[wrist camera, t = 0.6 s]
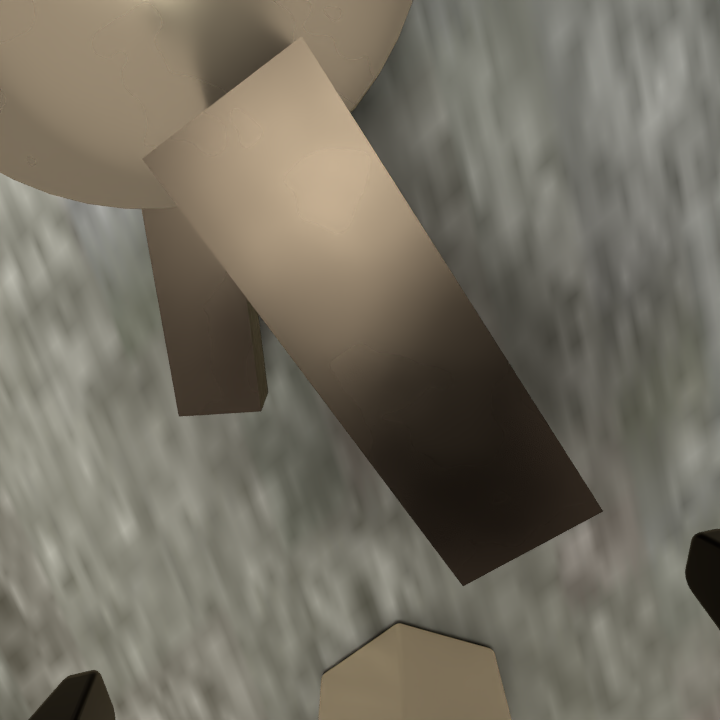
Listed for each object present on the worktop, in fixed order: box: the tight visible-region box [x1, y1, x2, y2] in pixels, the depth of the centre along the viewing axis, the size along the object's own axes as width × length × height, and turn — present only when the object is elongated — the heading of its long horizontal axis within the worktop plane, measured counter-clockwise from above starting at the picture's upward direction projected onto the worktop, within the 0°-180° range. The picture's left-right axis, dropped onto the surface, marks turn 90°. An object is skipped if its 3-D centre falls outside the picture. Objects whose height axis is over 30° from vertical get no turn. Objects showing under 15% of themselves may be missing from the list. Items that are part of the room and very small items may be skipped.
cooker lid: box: [0, 0, 603, 586], centre depth 12 cm, size 22×13×6 cm, turn 34°
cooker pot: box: [142, 107, 356, 416], centre depth 18 cm, size 20×13×6 cm, turn 4°
